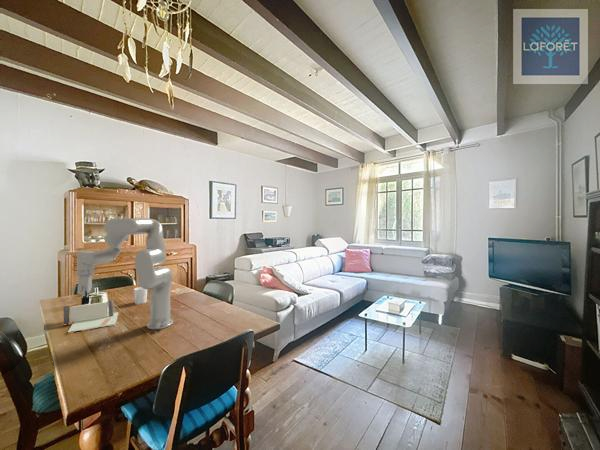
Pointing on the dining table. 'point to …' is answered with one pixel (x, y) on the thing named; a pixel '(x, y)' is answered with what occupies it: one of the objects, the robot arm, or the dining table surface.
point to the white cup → (140, 295)
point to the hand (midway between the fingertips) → (85, 303)
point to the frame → (92, 320)
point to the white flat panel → (88, 311)
